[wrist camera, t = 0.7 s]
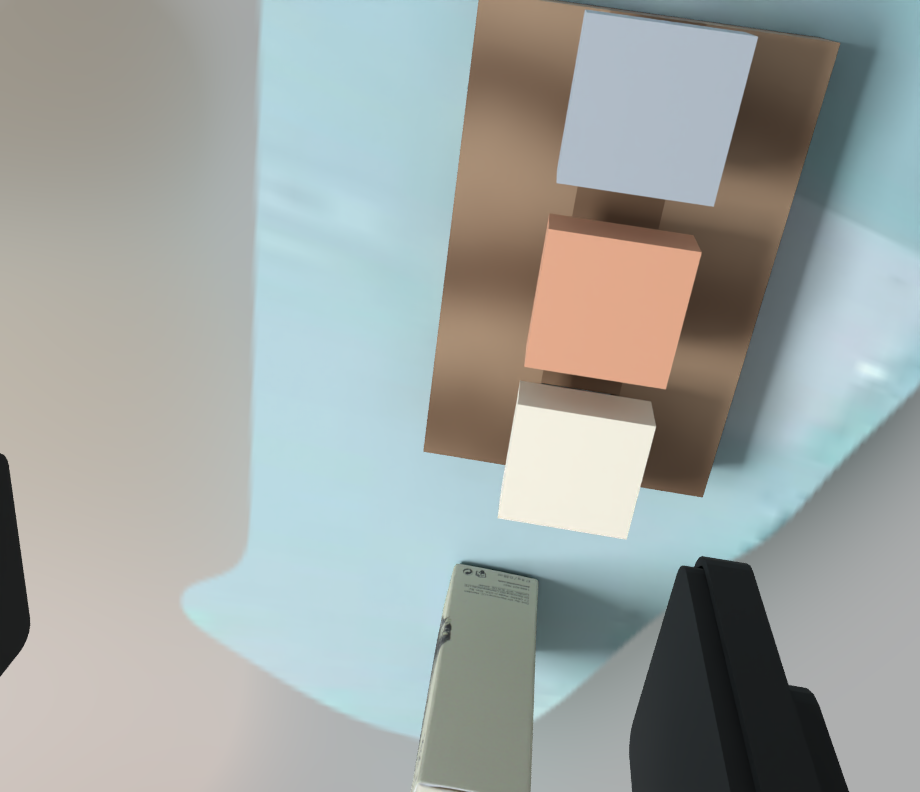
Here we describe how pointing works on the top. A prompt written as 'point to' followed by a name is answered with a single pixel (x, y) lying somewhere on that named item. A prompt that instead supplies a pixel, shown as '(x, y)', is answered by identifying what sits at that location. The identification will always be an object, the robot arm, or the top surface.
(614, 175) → the slate key
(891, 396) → the top surface
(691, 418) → the walnut board
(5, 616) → the robot arm
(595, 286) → the terracotta key
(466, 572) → the box
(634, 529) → the top surface
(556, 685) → the top surface
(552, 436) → the cream key
